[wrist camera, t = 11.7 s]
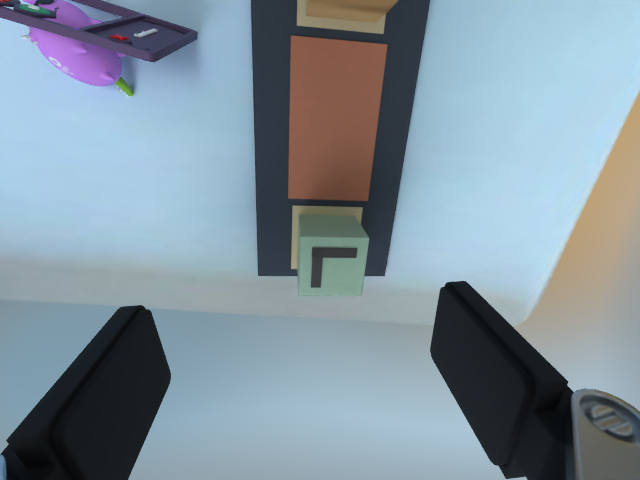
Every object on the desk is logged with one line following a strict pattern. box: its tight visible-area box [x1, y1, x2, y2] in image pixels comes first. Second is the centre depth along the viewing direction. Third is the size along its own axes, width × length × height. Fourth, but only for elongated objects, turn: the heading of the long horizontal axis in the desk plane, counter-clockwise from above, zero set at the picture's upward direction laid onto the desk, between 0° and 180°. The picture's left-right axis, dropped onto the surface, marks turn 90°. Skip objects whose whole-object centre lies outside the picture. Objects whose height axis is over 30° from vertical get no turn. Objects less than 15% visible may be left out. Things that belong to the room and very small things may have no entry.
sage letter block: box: [297, 215, 369, 296], centre depth 22 cm, size 4×4×5 cm
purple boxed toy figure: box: [0, 0, 197, 96], centre depth 16 cm, size 7×5×9 cm
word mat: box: [251, 0, 430, 276], centre depth 21 cm, size 24×11×1 cm, turn 177°
